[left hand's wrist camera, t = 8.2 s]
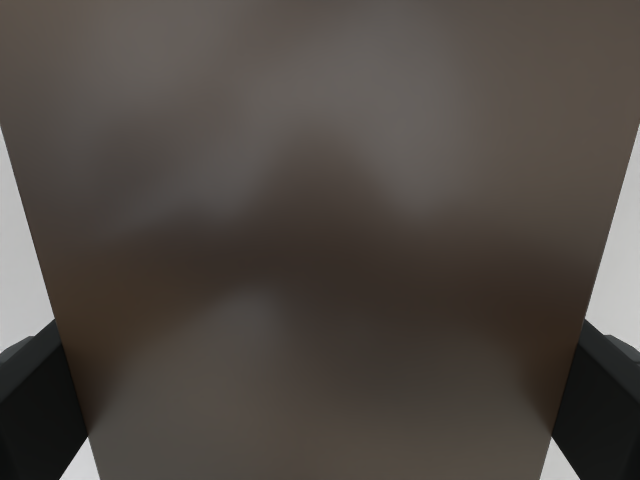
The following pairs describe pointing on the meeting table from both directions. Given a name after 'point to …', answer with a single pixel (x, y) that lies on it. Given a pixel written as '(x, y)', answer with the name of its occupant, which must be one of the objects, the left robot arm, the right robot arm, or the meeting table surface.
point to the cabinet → (319, 223)
